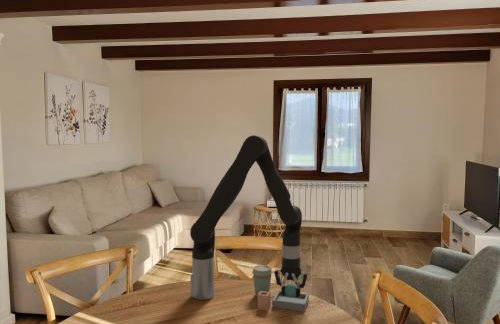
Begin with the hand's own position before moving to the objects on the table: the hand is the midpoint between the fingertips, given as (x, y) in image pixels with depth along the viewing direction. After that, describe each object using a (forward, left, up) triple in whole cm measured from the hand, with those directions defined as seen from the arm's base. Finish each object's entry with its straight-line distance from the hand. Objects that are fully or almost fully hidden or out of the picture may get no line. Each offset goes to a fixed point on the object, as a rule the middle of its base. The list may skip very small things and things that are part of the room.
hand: (290, 295), depth 165 cm
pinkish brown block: (-9, -7, -3) cm, 12 cm away
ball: (0, 0, 0) cm, 0 cm away
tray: (0, 0, -3) cm, 3 cm away
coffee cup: (-13, +5, -4) cm, 15 cm away
